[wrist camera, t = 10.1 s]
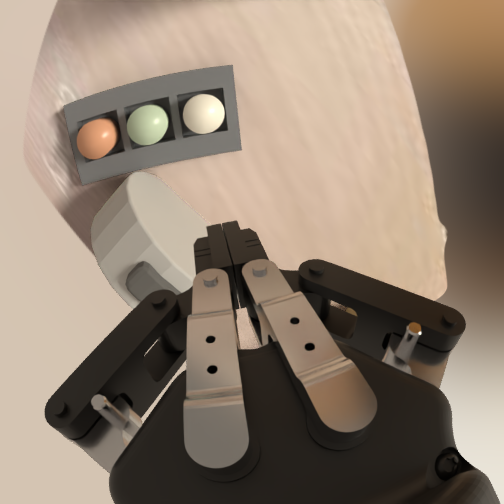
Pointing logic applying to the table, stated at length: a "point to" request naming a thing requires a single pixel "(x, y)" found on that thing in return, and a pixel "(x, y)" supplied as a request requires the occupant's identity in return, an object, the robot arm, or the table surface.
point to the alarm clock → (146, 238)
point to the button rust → (98, 137)
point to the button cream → (203, 113)
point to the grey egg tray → (177, 134)
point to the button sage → (148, 124)
